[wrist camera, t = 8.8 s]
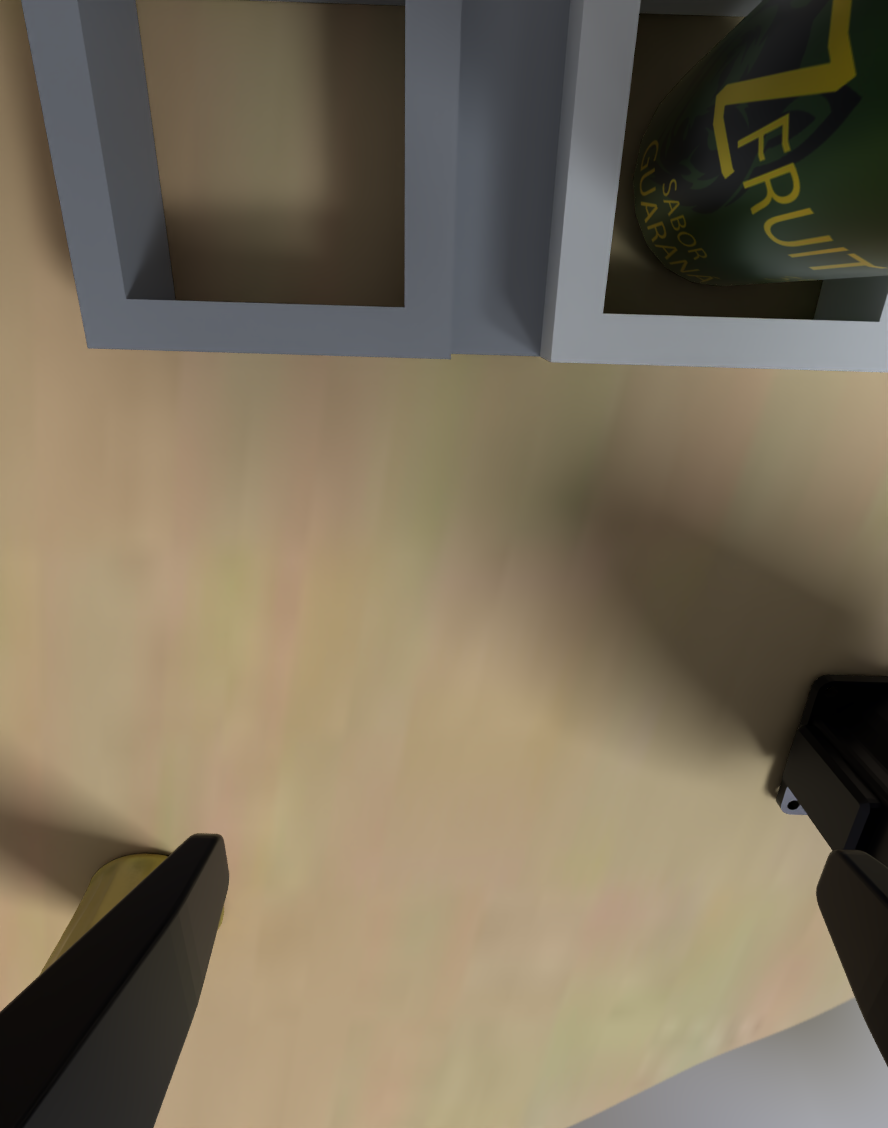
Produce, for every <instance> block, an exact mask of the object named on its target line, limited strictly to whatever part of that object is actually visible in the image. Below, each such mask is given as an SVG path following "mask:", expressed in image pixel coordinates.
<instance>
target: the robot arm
mask: <svg viewBox="0 0 888 1128" xmlns="http://www.w3.org/2000/svg"><path fill="white" fill-rule="evenodd" d="M829 687H831V688H830V690H828V691H825V690H826V689H827V688H829ZM776 801H777V803H778V805H779V807H780V808H781V810H782V811H783V812H784V813H786V814H794V815H808V816H809V818H810V819H811V821H812V822H813V823H814V825H815V826H816V828H817V829H818V830H819V832H820V833H821V835H822V836H823V838H824V839H825V840H826V842H827V843H828V845H829V846H830V847H831V849H832V850H833V851H832V852H831V853H830V854H829V856H828V858H827V861H826V864H825V866H824V869H823V872H822V874H821V877H820V879H819V882H818V885H817V890H816V896H817V902H818V905H819V908H820V911H821V913H822V916H823V918H824V921H825V923H826V926H827V928H828V931H829V933H830V936H831V938H832V941H833V943H834V946H835V948H836V951H837V953H838V956H839V958H840V961H841V963H842V966H843V968H844V971H845V973H846V976H847V978H848V981H849V983H850V986H851V988H852V991H853V993H854V996H855V998H856V1001H857V1003H858V1005H859V1008H860V1010H861V1012H862V1014H863V1017H864V1019H865V1021H866V1023H867V1026H868V1028H869V1030H870V1032H871V1034H872V1036H873V1038H874V1040H875V1042H876V1044H877V1046H878V1048H879V1050H880V1052H881V1054H882V1056H883V1058H884V1060H885V1062H886V1064H887V1066H888V677H886V676H850V675H824V676H821V677H819V678H818V679H817V680H815V681H814V683H813V685H812V687H811V690H810V693H809V696H808V700H807V703H806V706H805V709H804V712H803V715H802V718H801V722H800V725H799V728H798V730H797V732H796V735H795V738H794V741H793V744H792V747H791V750H790V754H789V757H788V760H787V763H786V766H785V769H784V773H783V776H782V782H781V785H780V788H779V791H778V794H777V797H776ZM228 885H229V870H228V864H227V857H226V851H225V844H224V840H223V837H222V836H221V835H219V834H204V833H197V834H194V835H192V836H190V837H189V838H188V839H187V840H186V841H184V842H183V843H182V844H181V845H180V846H179V847H178V848H177V849H176V850H175V851H174V852H173V853H171V854H170V855H169V856H168V857H167V858H166V859H165V860H164V861H163V862H162V863H161V864H160V865H159V866H157V867H156V868H155V869H154V870H153V871H152V872H151V873H150V874H149V875H148V876H147V877H146V878H144V879H143V880H142V881H141V882H140V883H139V884H138V885H137V886H136V887H135V888H134V889H133V890H131V891H130V892H129V893H128V894H127V895H126V896H125V897H124V898H123V899H122V900H121V901H120V902H119V903H117V904H116V905H115V906H114V907H113V908H112V909H111V910H110V911H109V912H108V913H107V914H106V915H104V916H103V917H102V918H101V919H100V920H99V921H98V922H97V923H96V924H95V925H94V926H93V927H92V928H90V929H89V930H88V931H87V932H86V933H85V934H84V935H83V936H82V937H81V938H80V939H79V940H77V941H76V942H75V943H74V944H73V945H72V946H71V947H70V948H69V949H68V950H67V951H66V952H65V953H63V954H62V955H61V956H60V957H59V958H58V959H57V960H56V961H55V962H54V963H53V964H52V965H50V966H49V967H48V968H47V969H46V970H45V971H44V972H43V973H42V974H41V975H40V976H39V977H38V978H36V979H35V980H34V981H33V982H32V983H31V984H30V985H29V986H28V987H27V988H26V989H25V990H23V991H22V992H21V993H20V994H19V995H18V996H17V997H16V998H15V999H14V1000H13V1001H12V1002H10V1003H9V1004H8V1005H7V1006H6V1007H5V1008H4V1009H3V1010H2V1011H1V1012H0V1128H153V1127H154V1124H155V1122H156V1119H157V1116H158V1113H159V1111H160V1108H161V1105H162V1102H163V1100H164V1097H165V1094H166V1091H167V1089H168V1086H169V1083H170V1080H171V1078H172V1075H173V1072H174V1070H175V1067H176V1064H177V1061H178V1059H179V1056H180V1053H181V1050H182V1048H183V1045H184V1042H185V1039H186V1037H187V1034H188V1031H189V1028H190V1026H191V1023H192V1020H193V1017H194V1014H195V1011H196V1008H197V1005H198V1002H199V998H200V994H201V991H202V987H203V983H204V980H205V976H206V972H207V968H208V964H209V960H210V956H211V952H212V949H213V945H214V941H215V937H216V933H217V929H218V925H219V921H220V918H221V914H222V910H223V906H224V902H225V898H226V894H227V890H228Z"/></svg>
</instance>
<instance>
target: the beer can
mask: <svg viewBox="0 0 888 1128" xmlns="http://www.w3.org/2000/svg"><path fill="white" fill-rule="evenodd" d="M633 183H634V199H635V214H636V217H637V220H638V222H639V225H640V228H641V230H642V233H643V236H644V238H645V241H646V244H647V246H648V247H649V248H650V249H651V250H652V252H653V253H654V254H655V255H656V256H657V258H658V259H659V260H660V261H661V262H662V264H663V265H664V266H665V267H666V268H667V269H669V270H671V271H673V272H674V273H676V274H678V275H680V276H682V277H683V278H685V279H687V280H689V281H691V282H695V283H702V284H709V285H716V286H730V285H746V284H761V283H777V282H793V281H808V280H824V279H840V278H855V277H871V276H887V275H888V0H763V1H762V2H761V3H760V4H759V5H757V6H756V7H755V8H754V9H753V10H752V11H751V12H750V13H749V14H748V15H747V16H746V17H745V18H744V19H743V20H742V21H741V22H740V23H739V24H738V25H737V26H736V27H735V28H734V29H733V30H732V31H731V32H729V33H728V34H727V35H726V36H725V37H724V38H723V39H722V40H721V41H720V42H719V43H718V44H717V45H716V46H715V47H714V48H713V49H712V50H711V51H710V52H709V53H708V54H707V55H706V56H705V57H704V58H703V59H701V60H700V61H699V62H698V63H697V64H696V65H695V66H694V67H693V68H692V69H691V70H690V71H689V72H688V73H687V74H686V75H685V76H684V77H683V78H682V79H681V81H680V82H679V83H678V84H677V85H676V86H675V87H674V89H673V90H672V91H671V92H670V93H669V94H668V95H667V96H666V98H665V99H664V100H663V101H662V102H661V103H660V104H659V106H658V108H657V110H656V112H655V114H654V116H653V118H652V120H651V122H650V124H649V126H648V128H647V130H646V132H645V134H644V136H643V138H642V140H641V144H640V149H639V154H638V158H637V163H636V168H635V173H634V177H633Z"/></svg>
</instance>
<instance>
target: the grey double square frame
mask: <svg viewBox="0 0 888 1128" xmlns="http://www.w3.org/2000/svg"><path fill="white" fill-rule="evenodd" d="M252 1H282V2H313V3H343V4H374V5H405V307H382V306H349V305H316V304H283V303H251V302H218V301H185V300H176V299H175V292H174V284H173V277H172V270H171V262H170V255H169V247H168V240H167V232H166V225H165V217H164V210H163V202H162V195H161V187H160V180H159V172H158V165H157V158H156V150H155V143H154V135H153V128H152V120H151V113H150V105H149V98H148V90H147V83H146V75H145V68H144V60H143V53H142V45H141V38H140V31H139V23H138V16H137V8H136V1H135V0H21V2H22V7H23V12H24V18H25V23H26V28H27V33H28V39H29V44H30V49H31V54H32V59H33V65H34V70H35V75H36V80H37V86H38V91H39V96H40V101H41V106H42V112H43V117H44V122H45V127H46V133H47V138H48V143H49V148H50V153H51V159H52V164H53V169H54V174H55V180H56V185H57V190H58V195H59V200H60V206H61V211H62V216H63V221H64V226H65V232H66V237H67V242H68V247H69V253H70V258H71V263H72V268H73V273H74V279H75V284H76V289H77V294H78V300H79V305H80V310H81V315H82V320H83V326H84V331H85V336H86V341H87V347H88V348H96V349H129V350H163V351H196V352H229V353H262V354H296V355H329V356H362V357H395V358H429V359H451V354H479V355H513V356H540V357H542V358H544V359H546V360H548V361H549V362H562V363H595V364H628V365H661V366H695V367H728V368H761V369H794V370H828V371H861V372H888V275H887V276H871V277H855V278H840V279H824V280H823V283H822V287H821V291H820V296H819V300H818V304H817V308H816V312H815V316H814V320H809V319H776V318H743V317H710V316H677V315H645V314H612V313H603V308H604V300H605V292H606V284H607V275H608V267H609V259H610V251H611V242H612V234H613V226H614V218H615V209H616V201H617V193H618V185H619V176H620V168H621V160H622V151H623V143H624V135H625V127H626V118H627V110H628V102H629V94H630V85H631V77H632V69H633V61H634V52H635V44H636V36H637V28H638V19H639V13H649V14H679V15H710V16H741V17H746V16H747V15H748V14H749V13H750V12H751V11H752V10H753V9H754V8H755V7H756V6H757V5H759V4H760V3H761V2H762V1H763V0H252Z"/></svg>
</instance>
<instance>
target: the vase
mask: <svg viewBox="0 0 888 1128" xmlns="http://www.w3.org/2000/svg"><path fill="white" fill-rule="evenodd" d="M167 857H168V856H165V855H159V854H134V855H128V856H124V857H120V858H118V859H115V860H113V861H111V862H109V863H107V864H106V865H104V866H103V867H102V868H100V869H99V870H98V871H97V872H96V873H95V875H94V876H93V877H92V879H91V881H90V884H89V886H88V888H87V891H86V893H85V895H84V897H83V899H82V901H81V903H80V904H79V906H78V908H77V910H76V912H75V914H74V916H73V917H72V919H71V921H70V923H69V925H68V926H67V928H66V930H65V932H64V933H63V935H62V937H61V939H60V941H59V942H58V944H57V946H56V947H55V949H54V951H53V953H52V954H51V956H50V958H49V959H48V961H47V963H46V965H45V966H44V968H43V970H42V972H41V974H42V973H43V972H44V971H45V970H46V969H47V968H48V967H49V966H50V965H52V964H53V963H54V962H55V961H56V960H57V959H58V958H59V957H60V956H61V955H62V954H63V953H65V952H66V951H67V950H68V949H69V948H70V947H71V946H72V945H73V944H74V943H75V942H76V941H77V940H79V939H80V938H81V937H82V936H83V935H84V934H85V933H86V932H87V931H88V930H89V929H90V928H92V927H93V926H94V925H95V924H96V923H97V922H98V921H99V920H100V919H101V918H102V917H103V916H104V915H106V914H107V913H108V912H109V911H110V910H111V909H112V908H113V907H114V906H115V905H116V904H117V903H119V902H120V901H121V900H122V899H123V898H124V897H125V896H126V895H127V894H128V893H129V892H130V891H131V890H133V889H134V888H135V887H136V886H137V885H138V884H139V883H140V882H141V881H142V880H143V879H144V878H146V877H147V876H148V875H149V874H150V873H151V872H152V871H153V870H154V869H155V868H156V867H157V866H159V865H160V864H161V863H162V862H163V861H164V860H165V859H166V858H167ZM223 915H224V906H223V910H222V914H221V918H220V921H219V925H218V929H219V927H220V925H221V923H222V920H223ZM218 929H217V930H218ZM41 974H40V975H41ZM40 975H39V976H40Z"/></svg>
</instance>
